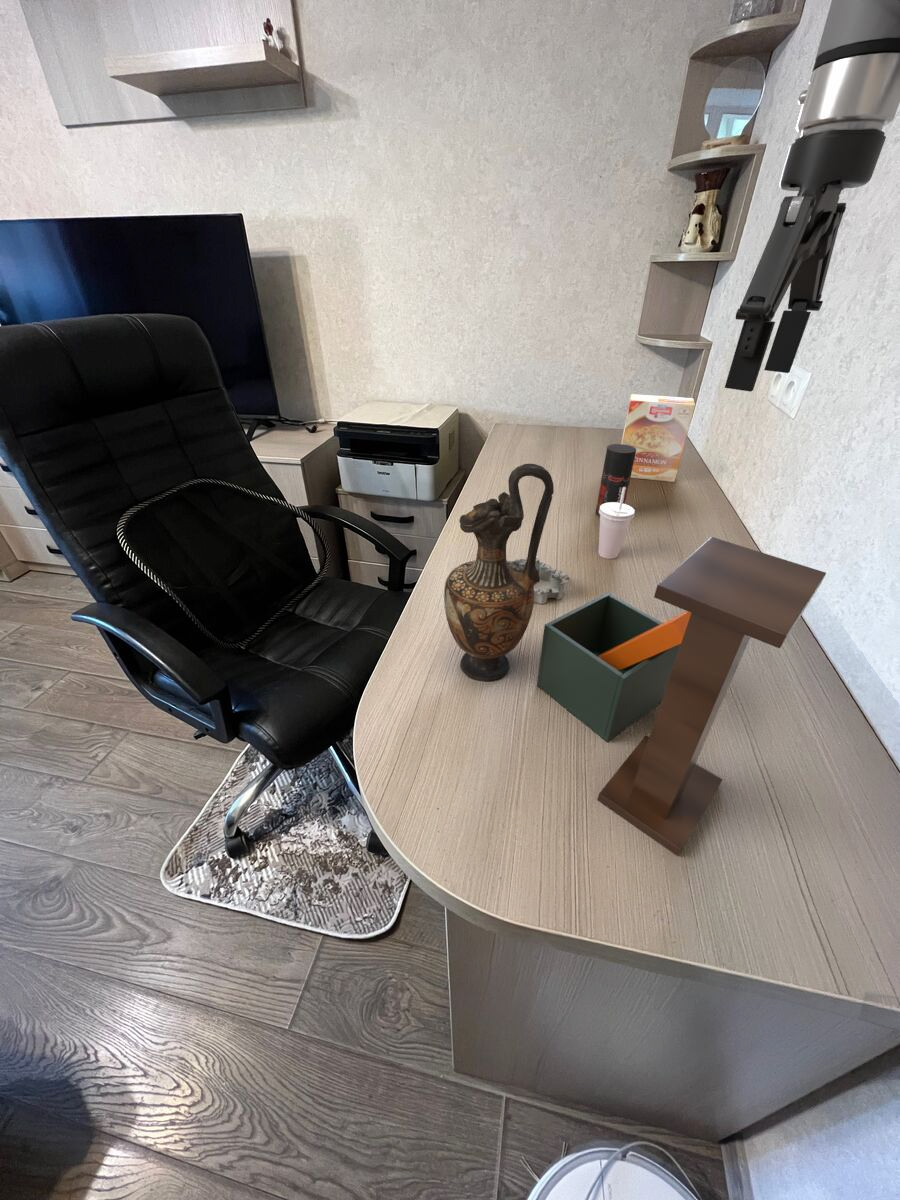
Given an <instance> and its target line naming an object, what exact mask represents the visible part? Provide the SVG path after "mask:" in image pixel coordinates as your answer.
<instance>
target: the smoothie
mask: <svg viewBox="0 0 900 1200" xmlns="http://www.w3.org/2000/svg"><path fill="white" fill-rule="evenodd" d="M625 490H626V487H623V489H622V494H621V498H620V503H617V502H609V503H604V504H602V505H601V506H600V510H599V514H600V517H599V532H598V533H599V534H598V535H599V536H598V555H599V556H600V557H601V558H603V559H606V560H607V559H608V560H613V559H616V558H618V556H619V554H620V550H621V548H622V546H623V543H624V540H625V537H626V534H627V531H628V529H629V526H630V524H631V521H632V520H633V519H634V517H635V512H636V511H635V509H634V507H632V506H631V505H629V504H626V503H625V504H623V499H624V495H625Z"/></svg>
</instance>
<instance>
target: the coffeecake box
mask: <svg viewBox="0 0 900 1200" xmlns="http://www.w3.org/2000/svg"><path fill="white" fill-rule="evenodd" d="M695 408H696V403H695V399H694V398H693V397H681V396H666V395H649V394H637V393H635V394H634V393H630V397H629V402H628V407H627V412H626V417H625V422H624V427H623V433H622V437H621V443H620V444H625V445H630V446H633V447H635V448H636V454H635V459H634V463H633V468H632V473H631V477H630V479H639V480H651V481H657V482H659V481H660V482H667V483H668V482H669V483H675V482H676V477H677V475H678V471H679V467H680V464H681V460H682V456H683V452H684V449H685V445H686V441H687V437H688V434H689V430H690V426H691V423H692V419H693V415H694V412H695Z"/></svg>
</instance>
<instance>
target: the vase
mask: <svg viewBox="0 0 900 1200" xmlns="http://www.w3.org/2000/svg"><path fill="white" fill-rule="evenodd" d="M524 477H533V478H536V479H538V480H540V481H542V483H543V485H544V490H543V493H542V497H541V499H540V502H539V505H538V508H537V512H536V514H535V515H536V516H535V519H534V523H533V527H532V531H531V535H530V541H529V545H528V549H527V550H528V551H527V557H526V558H527V562H526V565H525V568H524V570H523V569H521V568H520V567H518V566H516V565H515V564H512V563H509V562H507V561H508V559H507V544H508V540H509V538H510V536H511V535H512V534H513V532H517V531H518V530H519V529H520V528H521V527H522V524H523V520H524V517H525V515H524V514H525V513H524V507H523V502H522V498H521V494H520V487H519V484H520V483H519V482H520V480H521V479H522V478H524ZM507 483H508V493H507V492H506V491H503V492H501V493H500V494H499V495H498V496H497V499H496V498H489V499H488V500H487V501H485V502H480V503H477V504H475V505H473V506H472V508H473V509H472V510H471V511H469V512H467V513H466V514H461V516H460V517H459V519H458V520H459V527H460V530H461V531H462V532H463V533H466V534H472V533H473V535H474V536H475V539H476V541H477V550H476V558H475V560H470V561H467V562H464V563H461V564H460V565H458V566H457V567H455V568H454V569H452V570H451V571H450V572H449V574H448V575H447V578H446V580H445V582H444V583H445V584H444V591H443V592H444V593H443V595H444V596H443V599H444V600H443V601H444V612H445V616H446V617H445V618H446V622H447V624H448V628H449V630H450V633H451V636H452V638H453V640H454V641H455V643H456V644H457V646H458V647H459V648H460V649H461V650H462V651H463V652H464V654H463V655H462V657H461V659H460V662H459V664H460V665H459V666H460V670H461V671H462V672H463V674H464V675H465V676H466V677H468V678H470V679H472V680H475V681H480V682H491V681H495V680H499V679H502V678H503V677H504V676H505V675H507V673H508V672H509V671H510V667H511V665H510V660H509V658H508V657H507V654H508V653H510V652H511V651H513V650H514V649H515V648H516V647H517V646H518V644H519V643H520V642H521V640H522V638H523V637H524V635H525V634H526V631H527V629H528V626H529V623H530V620H531V617H532V615H533V609H534V604H535V603H534V584H535V583H537V582H539V581H540V575H539V572H538V571H537V569H536V565H535V564H536V558H537V555H538V551H539V547H540V542H541V538H542V535H543V532H544V528H545V525H546V520H547V517H548V514H549V511H550V510H549V509H550V507H551V504H552V502H553V501H552V500H553V495H554V493H555V489H554V488H555V487H554V481H553V477H552V474H551V473H550V472H549V471H548V470H547V469H546V468H545V467H544V466H542V465H539V464H536V463H523V464H521V465H519V466H516V467H515V468H514V469H512V471H511V472H510V474H509V477H508V482H507Z"/></svg>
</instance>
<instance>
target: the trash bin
mask: <svg viewBox="0 0 900 1200" xmlns="http://www.w3.org/2000/svg"><path fill="white" fill-rule="evenodd" d="M662 623H663V622H661V621H660V620H658V619H656V618H655V617H653V616H651V615H649V614H647V613H645V612H643V611H642V610H640V609H638V608H637V607H635V606H633V605H631V604H629V603H627V602H625V601H624V600H622V599H620V598H618V597H617V596H615V595H613V594H611V592H606V593H604V594H602V595H599V596H598V597H596V598H594V599H592V600H590V601H588V602H586V603H584V604H582V605H580V606H578V607H576V608H574V609H572V610H570V611H568V612H567V613H565V614H563V615H560V616H559V617H557V618H555V619H553V620H550V621H549V622H547V623H545V624H544V626H543V635H542V642H541V648H540V649H541V650H540V657H539V664H538V672H537V679H536V680H537V681H536V686H537V687H538V688H539V689H541V691H543V692H544V693H546V694H547V696H549V697H550V698H552V699H553V700H554V701H555V702H557V703H558V704H559V705H560V706H561V707H562V708H564V709H565V710H566V711H567V712H569V713H570V714H571V715H573V716H574V717H575V718H576V719H578V720H579V721H580V722H581V723H582V724H584V725H585V726H586V727H587V728H589V729H590V730H591V731H593V732H594V733H595V734H596V735H598V737H600V738H601V739H602V740H604V741H605V742H606V743H609V742H610V741H611V740H613V739H614V738H616V737H617V736H619V735H620V734H621V733H623V732H624V731H625V730H626V729H628V728H629V727H630V726H632V725H633V724H635V723H636V722H637V721H638V720H641V718H643V717H645V715H647V714H648V713H650V712H652V710H654V709H655V708H656V707H658V706H660V704H661V701H662V698H663V695H664V692H665V689H666V686H667V684H668V681H669V678H670V675H671V672H672V669H673V666H674V663H675V660H676V657H677V654H678V651H679V648H680V645H681V644H679V645H677V646H675V647H672V648H670V649H668V650H666V651H663V652H661V653H659V654H656V655H654V656H652V657H650V658H647V659H645V660H643V661H641V662H638V663H636V664H634V665H631V666H629V667H627V668H625V669H622V670H620V671H618V670H617V669H615V668H614V667H612V666H611V665H609V664H608V663H606V662H605V661H603V660H602V659H600V658H599V657H597V656H598V655H600V654H602V653H604V652H606V651H608V650H610V649H612V648H614V647H616V646H618V645H620V644H622V643H624V642H626V641H628V640H630V639H632V638H634V637H636V636H638V635H640V634H642V633H644V632H646V631H648V630H650V629H652V628H654V627H656V626H658V625H660V624H662Z"/></svg>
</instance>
